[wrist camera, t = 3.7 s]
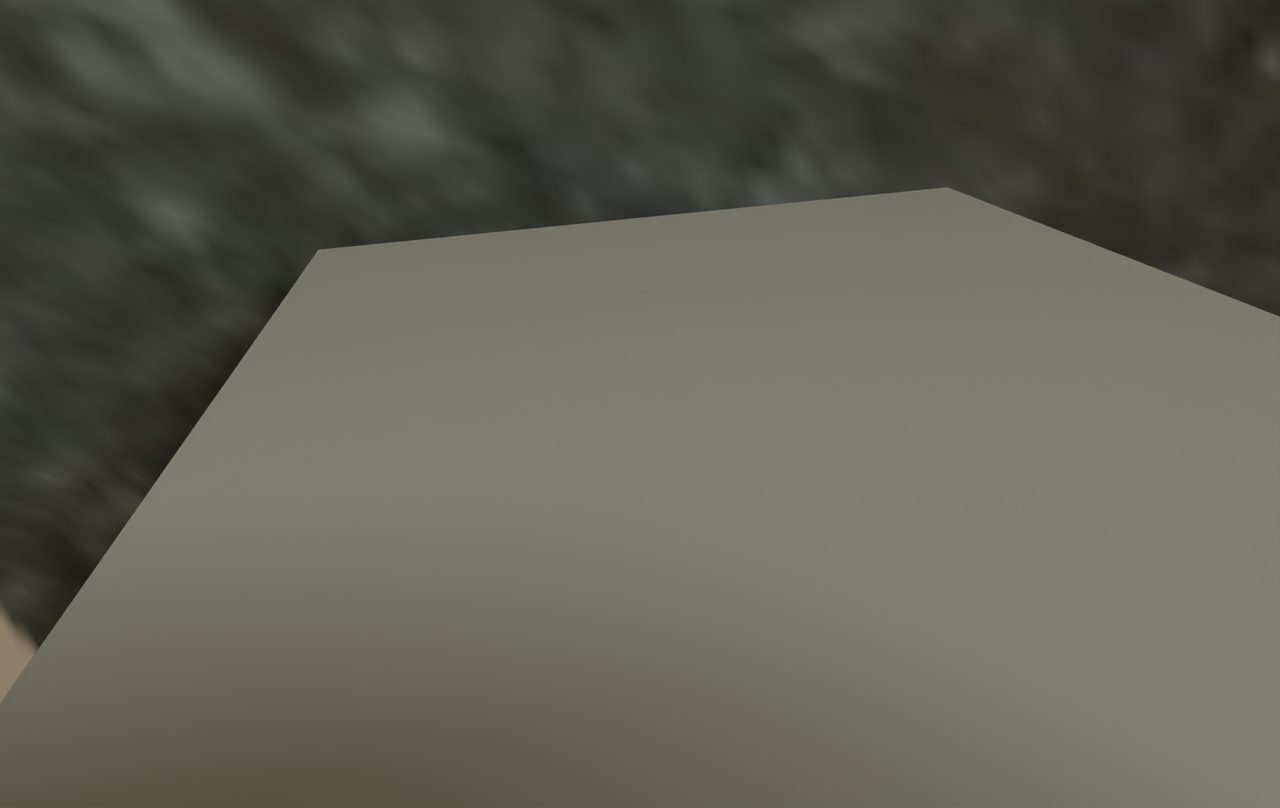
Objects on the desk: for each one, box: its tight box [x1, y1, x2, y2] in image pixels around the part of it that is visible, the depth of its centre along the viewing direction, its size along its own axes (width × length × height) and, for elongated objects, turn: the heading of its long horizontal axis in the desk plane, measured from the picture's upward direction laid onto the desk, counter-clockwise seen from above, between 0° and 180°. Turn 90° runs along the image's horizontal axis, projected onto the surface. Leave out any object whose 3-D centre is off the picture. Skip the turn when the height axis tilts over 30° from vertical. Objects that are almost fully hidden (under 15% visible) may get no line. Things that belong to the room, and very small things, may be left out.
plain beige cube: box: [0, 187, 1280, 808], centre depth 8 cm, size 8×8×9 cm
